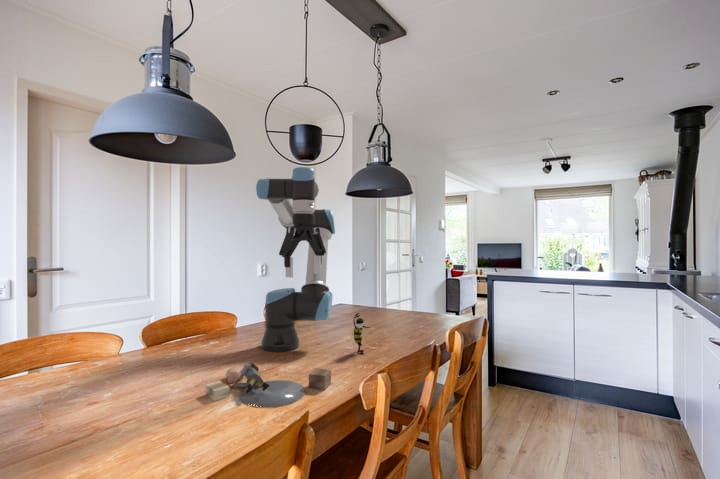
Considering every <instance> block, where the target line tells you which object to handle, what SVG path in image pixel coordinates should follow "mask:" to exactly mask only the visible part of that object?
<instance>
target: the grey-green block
mask: <svg viewBox="0 0 720 479" xmlns="http://www.w3.org/2000/svg"><path fill="white" fill-rule="evenodd" d="M205 395H206V396H207V395H208V398H210V399H211V400H213V401H214V402H216V400H217V401H220V400H223V398H224V399H226V397H227V398H229V397H230V387H229V386H228V384H227V383H223V381H220V380H219V381H214V382H212V383H207V384H205Z"/></svg>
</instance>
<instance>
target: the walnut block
mask: <svg viewBox="0 0 720 479" xmlns="http://www.w3.org/2000/svg"><path fill="white" fill-rule="evenodd" d="M331 384H332V369H326V368H324V369H323V368H314V369H313V370H312V371H311V372H309V373H308V389H309V390H310V389H311V390H318V391H326V390H327V389H328V388H329V387H330V386H331Z"/></svg>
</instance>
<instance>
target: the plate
mask: <svg viewBox="0 0 720 479" xmlns="http://www.w3.org/2000/svg"><path fill="white" fill-rule="evenodd" d="M264 382H265V383H266V384H268V385H269V387H268V388H267V389H266V390H264V391H263V390H262V389H263V388H259V389H257V390H254V389H252V390H251V391H249V392H248V393H246V391H247V389H248V387H247V386H246V387H245V388H243V390H242V391H241V392H239V394H238V400H239V401H240V402H241V404H243V403H244V404H243V405H245V404H247V405H246V406H248V404H249V405H251V404H252V406H253V405H254V404H255V406H256V405H257V406H258V407H260V406H261V407H273V408H278V406H281V407H284V406H283V405H285V406H289V405H292V404H293V402H294V403H296V402H298V401H299V399H300V400H301V399H302V398H304V397H305V395H306V394H305V393H306V389H305V387H304V386H303V384H301V383H299V382H296V381H290V380H284V379H283V380H281V379H278V380H275V379H274V380H266V381H264ZM288 404H289V405H288ZM252 406H251V407H252ZM258 407H257V408H258Z"/></svg>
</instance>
